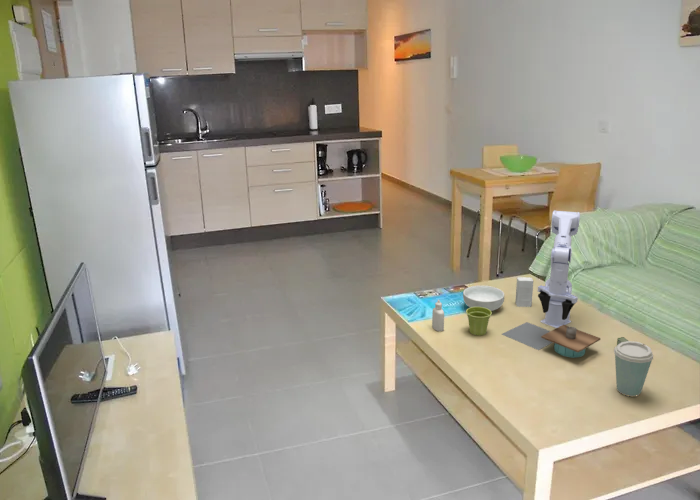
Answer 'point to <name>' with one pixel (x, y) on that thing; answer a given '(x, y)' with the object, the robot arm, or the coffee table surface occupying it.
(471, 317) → the plant pot
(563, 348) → the teal bowl
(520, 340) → the rubber mat
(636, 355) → the disposable coffee cup
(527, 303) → the skincare box
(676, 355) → the coffee table surface
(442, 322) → the eye dropper bottle
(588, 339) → the walnut lid
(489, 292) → the cereal bowl
